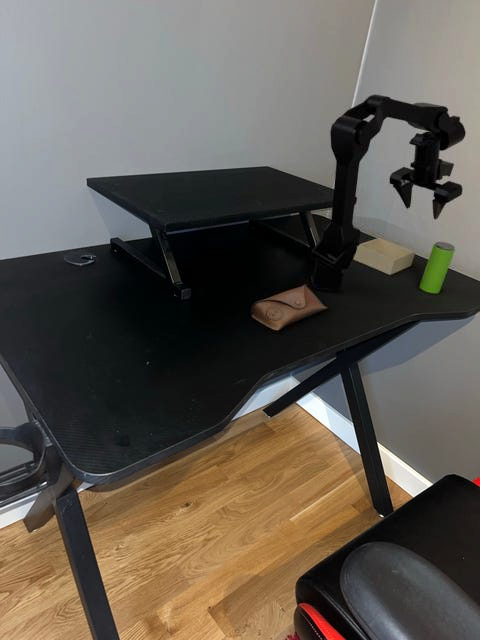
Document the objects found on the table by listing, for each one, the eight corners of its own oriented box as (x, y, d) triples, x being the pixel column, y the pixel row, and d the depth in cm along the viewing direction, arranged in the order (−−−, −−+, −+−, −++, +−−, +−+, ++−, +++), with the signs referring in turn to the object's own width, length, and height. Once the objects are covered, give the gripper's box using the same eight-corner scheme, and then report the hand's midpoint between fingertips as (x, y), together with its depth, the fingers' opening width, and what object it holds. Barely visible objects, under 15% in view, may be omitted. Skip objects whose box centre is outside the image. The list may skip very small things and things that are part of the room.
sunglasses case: (278, 331, 93) (270, 300, 92) (255, 333, 99) (247, 303, 98) (330, 307, 105) (323, 279, 104) (306, 310, 110) (300, 283, 109)
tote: (389, 275, 127) (394, 260, 124) (353, 259, 134) (356, 245, 131) (410, 265, 134) (415, 251, 132) (375, 251, 141) (379, 237, 139)
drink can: (423, 292, 119) (438, 247, 113) (416, 283, 124) (431, 240, 117) (442, 294, 119) (459, 250, 113) (435, 285, 124) (451, 242, 117)
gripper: (481, 154, 110) (472, 212, 120) (418, 138, 123) (414, 191, 133) (450, 171, 106) (443, 229, 116) (388, 153, 119) (387, 207, 129)
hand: (421, 213), depth 124 cm, fingers open, 9 cm apart
